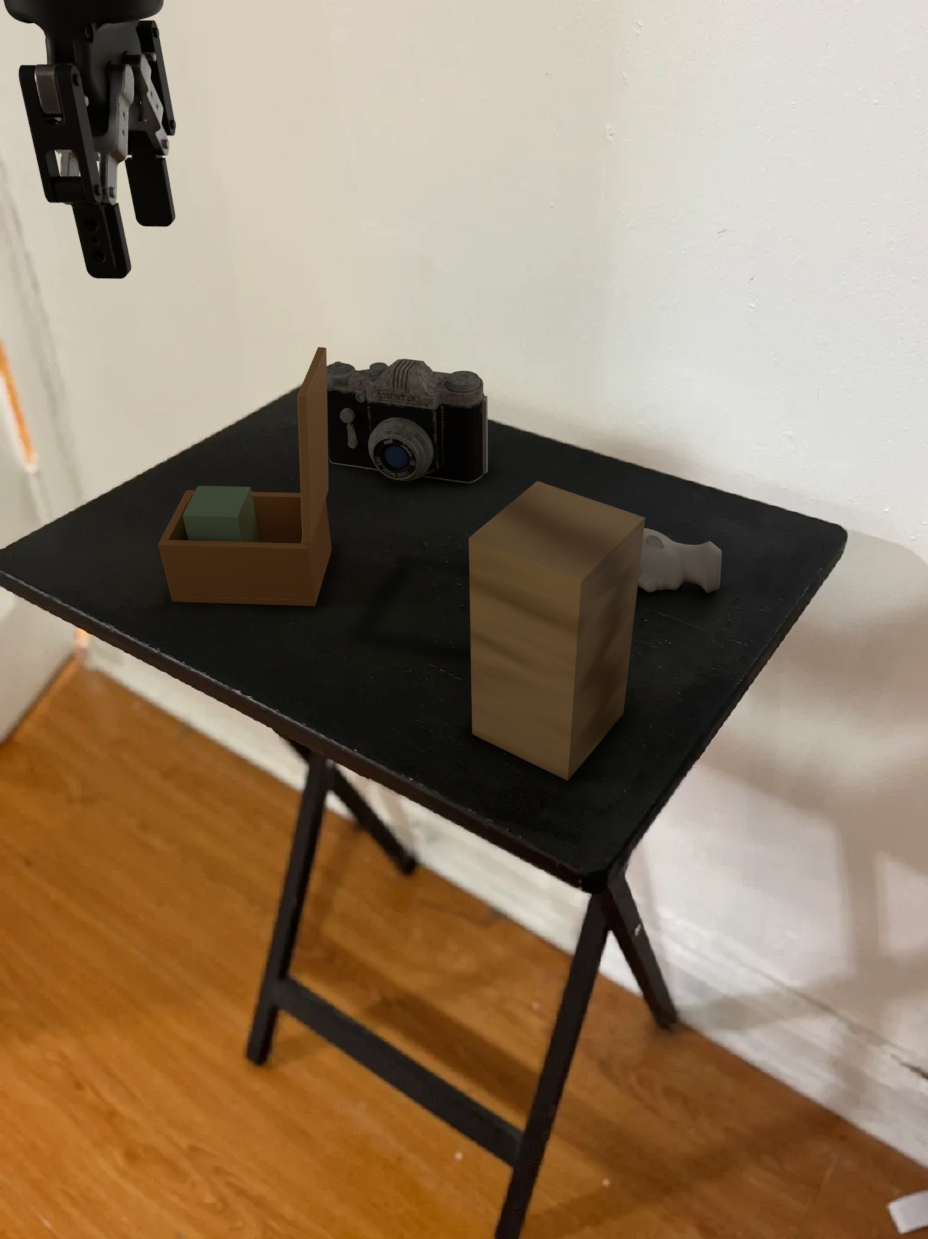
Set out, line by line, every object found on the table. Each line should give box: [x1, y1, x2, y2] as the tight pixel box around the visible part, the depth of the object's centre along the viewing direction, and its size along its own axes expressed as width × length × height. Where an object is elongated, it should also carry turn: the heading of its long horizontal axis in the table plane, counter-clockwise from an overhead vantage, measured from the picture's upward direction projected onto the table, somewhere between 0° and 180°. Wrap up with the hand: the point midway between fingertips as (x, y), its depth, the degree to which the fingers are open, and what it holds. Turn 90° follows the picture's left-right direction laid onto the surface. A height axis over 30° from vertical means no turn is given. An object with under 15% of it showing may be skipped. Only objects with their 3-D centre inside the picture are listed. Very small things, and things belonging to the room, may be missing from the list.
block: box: [183, 485, 260, 542], centre depth 76 cm, size 4×4×6 cm
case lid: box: [296, 346, 329, 544], centre depth 71 cm, size 11×7×1 cm
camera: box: [327, 358, 489, 484], centre depth 86 cm, size 15×7×10 cm, turn 73°
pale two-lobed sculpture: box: [637, 527, 723, 594], centre depth 75 cm, size 4×8×5 cm
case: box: [157, 489, 333, 607], centre depth 77 cm, size 11×7×5 cm
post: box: [468, 480, 646, 782], centre depth 61 cm, size 7×7×15 cm
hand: (135, 249), depth 58 cm, fingers open, 8 cm apart
